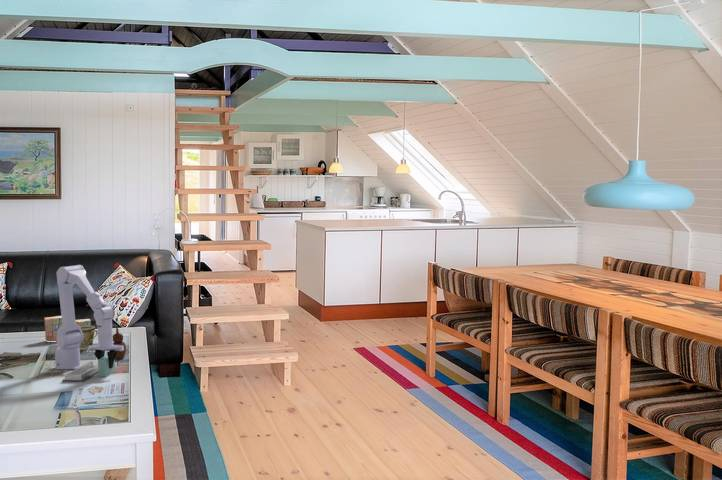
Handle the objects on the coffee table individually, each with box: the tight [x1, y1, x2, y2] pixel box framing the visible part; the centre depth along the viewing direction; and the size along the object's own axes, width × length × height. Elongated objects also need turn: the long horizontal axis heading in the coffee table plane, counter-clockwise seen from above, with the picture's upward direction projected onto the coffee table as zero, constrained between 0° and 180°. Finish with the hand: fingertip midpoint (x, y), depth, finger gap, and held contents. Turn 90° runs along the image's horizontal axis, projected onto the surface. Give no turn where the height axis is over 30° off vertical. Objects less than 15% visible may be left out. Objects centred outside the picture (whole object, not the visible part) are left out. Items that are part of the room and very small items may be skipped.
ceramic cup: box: [79, 325, 98, 351], centre depth 346 cm, size 13×10×10 cm
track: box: [62, 361, 99, 383], centre depth 299 cm, size 9×22×3 cm, turn 175°
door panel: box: [97, 354, 116, 378], centre depth 299 cm, size 3×9×7 cm, turn 174°
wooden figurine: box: [113, 325, 127, 360], centre depth 325 cm, size 7×6×15 cm
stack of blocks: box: [44, 315, 92, 341], centre depth 368 cm, size 21×6×12 cm, turn 119°
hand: (106, 367), depth 299 cm, fingers closed on door panel, 3 cm apart
